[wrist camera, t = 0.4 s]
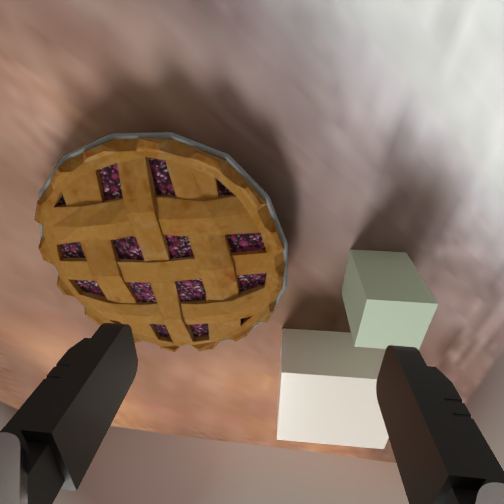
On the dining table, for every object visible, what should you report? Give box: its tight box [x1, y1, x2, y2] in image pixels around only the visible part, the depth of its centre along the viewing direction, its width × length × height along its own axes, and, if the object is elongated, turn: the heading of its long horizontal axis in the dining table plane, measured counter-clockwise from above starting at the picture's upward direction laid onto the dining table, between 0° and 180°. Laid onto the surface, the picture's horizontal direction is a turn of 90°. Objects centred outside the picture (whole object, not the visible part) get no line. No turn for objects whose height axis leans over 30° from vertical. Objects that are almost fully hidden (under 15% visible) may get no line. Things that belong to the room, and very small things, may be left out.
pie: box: [35, 132, 288, 352], centre depth 28 cm, size 22×22×5 cm
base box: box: [277, 328, 389, 449], centre depth 35 cm, size 12×12×6 cm
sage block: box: [341, 249, 438, 350], centre depth 27 cm, size 5×5×7 cm
